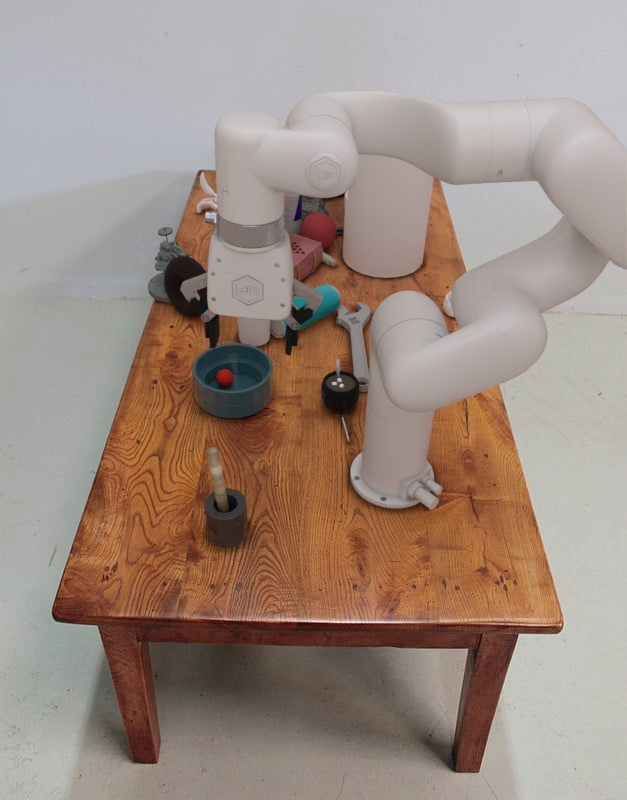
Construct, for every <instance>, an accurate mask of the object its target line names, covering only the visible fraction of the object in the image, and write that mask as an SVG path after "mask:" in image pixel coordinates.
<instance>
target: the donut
mask: <svg viewBox="0 0 627 800" xmlns="http://www.w3.org/2000/svg"><path fill="white" fill-rule="evenodd" d="M207 272H208V271H207V270H206V269H205V267H204V266H203V265H202V263H200V262H199V261H198V260H197V259H195V258H194V257H191V256H189V257H188V256H186V255H185V256H178V257H176V258H174V259H173V260H171V261H170V263H169V264H168V265H167V267H166V271H165V274H164V284H165V290H166V293H167V296H168V298H169V300H170V302H171V303H170V304H171V305H172V306H173V308H174V309H175V310H176V311H177V312H179V313H180V314H181V315H183V316H185V317H188V318H198V317H201V316H200V315H199V314H198V313H197V312H196V311H195V310H194V309H192V308H191V307H190V305H189V301H188V300H187V299H186V298H185V296H184V295H183V293H182V292H181V290H180V288H181V285H182V283H183V282H184V281H185V279H186V280H188V279H191V278H194V277H196V276H199V275H202V274H204V273H207ZM197 293H198V294H200V295H201V296H202V297H203V298H204V299H205V300H206V301H207V287H205V288H202V289H199V290H197ZM207 302H208V301H207Z"/></svg>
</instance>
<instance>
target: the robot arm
mask: <svg viewBox="0 0 627 800" xmlns="http://www.w3.org/2000/svg"><path fill="white" fill-rule="evenodd" d="M359 155H381V156H387V157H392V158H396V159H399V160H402V161H405V162H407V163H409V164H411V165H413V166H415V167H417V168H419V169H420V170H422V171H423V172H425V173H427V174H428V175H430V176H432V177H433V179H436V180H438V181H440V182H442V183H446V184H448V185H453V186H461V185H462V186H463V185H478V184H479V185H480V184H495V183H518V182H519V183H520V182H522V183H523V182H537V183H538V184H539V186H540V188H541V189H542V191H543V192H544V193H545V195H546V197H547V198H548V199H549V201H550V202H551V204H553V205H554V207H555V208H556V209H557V210H558V211H559V212H560V213H561V214H562V216H561V218H560V220H558V222H557V223H556V224H555V225H554V226H553V227H552V228H551V229H549V230H548V231H547V232H546V233H544V234H543V235H541V236H540V237H537V238H536V239H534V240H532V241H530V242H528V243H526V244H524V245H522V246H520V247H517V248H515V249H513V250H510V251H509V252H506V253H505V254H502V255H500V256H497V257H496V258H493V259H491V260H489V261H486V262H485V263H482V264H480V265H478V266H476V267H474V268H472V269H470V270H468V271H466V272H464V273H463V274H461V276H459V277H458V278H457V279H456V281H455V282H454V283H453V285H452V287H451V290H450V291H451V305H452V309H453V312H454V315H455V317H454V318H455V321H456V325H457V327H458V329H457V330H455V331H452V332H451V333H450V331H449V328H448V325H447V322H446V320H445V318H444V315H443V314H442V311H441V309H440V307H439V306H438V305H437V304H436V303H435V301H433V299H431V298H430V297H429V296H428V295H426V294H424V293H421V292H419V291H415V290H401V291H397V292H395V293H392V294H390V295H388V296H387V297H386V298H384V299H383V300H382V301H381V302H380V303H379V305H378V306H377V307H376V309H375V311H374V313H373V315H372V318H371V321H370V327H369V337H368V342H369V343H368V345H369V348H368V349H369V350H368V351H369V353H368V355H369V357H368V359H369V361H368V363H369V364H368V371H369V383H368V391H367V396H366V404H365V405H366V407H365V415H364V416H365V417H364V427H363V428H364V429H363V440H362V451H361V452H359V453H358V454H357V455H356V456H355V457H354V459H353V461H352V463H351V466H350V471H349V478H350V483H351V486H352V488H353V489H354V491H355V492H356V493H357V494H358V495H359V496H360V497H361V498H362V499H363V500H365V501H367V502H368V503H370V504H372V505H375V506H377V507H380V508H386V509H406V508H410V507H413V506H416V505H418V504H420V503H421V504H422V505H424V506H425V507H426V508H428V510H430V511H432V510H434V509H435V508H436V507H437V506H438V504H439V502H440V499H439V498H438V497H436V496H439V495H440V494H441V493H442V492H443V489H444V488H443V486H441V485H440V484H439V483H437V482H436V481H435V474H434V470H433V466H432V465H431V463H430V462H429V461H428V453H429V448H430V442H431V436H432V429H433V423H434V417H435V412H436V410H439V409H443V408H445V407H448V406H450V405H452V404H455V403H458V402H460V401H463V400H465V399H467V398H470V397H473V396H474V395H477V394H480V393H482V392H485V391H487V390H489V389H492V388H494V387H496V386H499V385H501V384H504V383H506V382H508V381H510V380H513V379H515V378H517V377H519V376H520V375H522V374H524V373H525V372H526V371H528V370H529V369H531V368H532V367H533V366H534V365H535V364H536V363H537V362H538V361H539V359H540V358H541V357H542V355H543V354H544V352H545V349H546V347H547V343H548V329H547V324H546V321H545V319H544V317H543V315H542V314H544V313H545V312H547V311H549V310H551V309H554V308H555V307H557V306H559V305H561V304H563V303H565V302H567V301H569V300H572V299H573V298H575V297H576V296H578V295H580V294H581V293H583V292H584V291H586V290H587V289H588V288H590V286H591V285H592V284H594V283H595V281H596V280H597V279H598V278H599V277H600V275H601V274H602V273H603V271H604V270H605V268H606V267H607V265H608V264H609V262H611V263H612V264H614V265H615V266H616V267H618V268H620V269H622V270H625V271H627V149H626V148H625V146H624V145H623V144H622V142H621V141H620V140H619V139H618V138H617V136H616V135H615V134H614V133H613V131H611V129H609V128H608V126H607V125H606V124H605V123H604V122H603V121H602V119H601V118H599V117H598V116H597V114H596V113H595V112H594V111H593V110H592V109H591V108H590V107H589V106H587V105H586V104H585V103H583V102H581V101H579V100H577V99H572V98H566V97H549V98H547V97H546V98H526V99H506V100H488V101H461V102H457V101H455V102H454V101H453V102H452V101H444V100H439V99H436V98H430V97H426V96H425V97H424V96H417V95H412V94H407V93H401V92H396V91H395V92H394V91H387V90H373V89H371V90H345V91H342V90H341V91H330V92H329V91H328V92H320V93H316V94H313V95H310V96H307V97H304V98H303V99H301V100H299V101H298V102H297V103H296V104H295V105H294V106H293V107H292V108H291V109H290V111H289V113H288V115H287V116H286V121H285V124H284V123H283V121H282V120H281V119H280V118H279V117H277V116H276V115H274V114H272V113H271V112H268V111H264V110H258V109H239V110H234V111H230V112H228V113H226V114H223V115H222V116H221V117H220V118H219V119H218V121H217V122H216V124H215V128H214V158H215V159H214V160H215V185H216V186H215V187H216V194H217V208H216V211H215V210H211V211H207V210H206V211H205V214H204V223H205V224H211V225H212V226H214V228H215V229H214V231H213V233H212V234H211V237H210V242H209V249H208V257H207V271H206V272H207V273H204V274H202V275H199V276H196V277H194V278H191V279H188V280H186V281H184V282H183V283H182V285H181V288H180V290H181V292H182V293H183V295H184V296H185V298H186V299H187V300H188V301H189V305H190V307H191V308H192V309H194V310H195V311H196V312H197V313H198V314H199V315H200V316H199V317H200V319H201V321H202V322H204V336H205V337H204V338H205V339H209V340H208V341H209V348H216V346H217V345H218V342H219V339H220V334H221V327H220V326H221V325H220V316H223V317H231V318H237V317H241V318H252V319H263V320H284V321H285V322H286V323H287V327H286V337H285V340H284V341H285V343H284V344H285V345H284V352H285V353H284V354H285V355H286V356H292V351H293V347H298V345H299V335H300V334H299V333H300V330H299V328H300V325H302V324H303V323H305V322H306V321H307V320H309V319H310V318H311V317H312V316H313V314H314V312H315V311H316V310H317V309H318V307H319V306H320V304H321V303H322V298H323V295H322V294H321V293H320V292H318V291H316V290H314V288H313V287H310V286H309V285H307V284H305V283H303V282H302V281H301V282H300V281H298V280H296V279H294V272H293V257H292V250H291V244H290V239H289V235H288V233H287V232H286V231H285V230H284V192H289V193H294V194H299V195H304V196H309V197H315V198H324V199H331V198H335V197H338V196H342V195H344V194H343V193H345V192H346V191H347V190H349V189H350V188H351V187H352V185H353V184H354V183H355V181H356V179H357V176H358V173H359V167H360V162H359ZM341 194H342V195H341ZM205 287H207V301H208V302H207V301H206V300H205V299H204V298H203V297H202V296H201V295H200V294H198V293H197V290H199V289H202V288H205ZM294 296H296V297H298V296H299V297H300V298H302V299H304V300H306V301H307V302H308V303H307V304H305V305H304V306H303V307H301V308H300V309H298V308H297V306H296V305H295V304H294V303H293V302H292V299H294ZM432 493H433V494H432ZM434 494H435V495H434Z"/></svg>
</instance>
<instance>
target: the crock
mask: <svg viewBox="0 0 627 800" xmlns="http://www.w3.org/2000/svg"><path fill="white" fill-rule="evenodd" d="M226 492H227V498H228V503H229V509H230V512H227V513H222V512H218V509H217V504H216V498H215V493H214V491H213V492H211V493H209V494H208V495H207V497H206V499H205V500H204V502H203V503H204V504H203V505H204V514H205V521H206V522H205V523H206V532H207V537H208V540H209V541H210V542H211V543H212V544H213V545H215V546H217V547H219V548H226V549H228V548H234V547H236V546H238V545H240V544H241V543H243V542H244V541H245V540H246V538H247V536H248V531H249V524H248V523H249V521H248V504H247V499H246V496H245V495H244V494H243V493H242V492H241V491H239V490H238V489H235V488H230V487H226Z"/></svg>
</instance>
